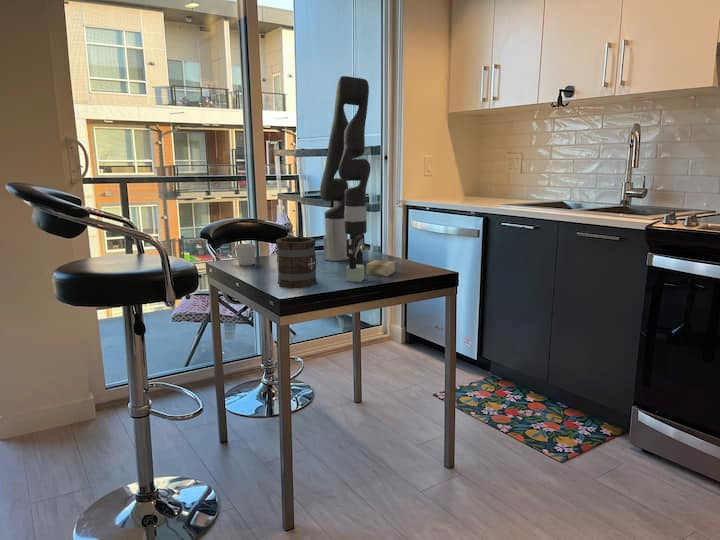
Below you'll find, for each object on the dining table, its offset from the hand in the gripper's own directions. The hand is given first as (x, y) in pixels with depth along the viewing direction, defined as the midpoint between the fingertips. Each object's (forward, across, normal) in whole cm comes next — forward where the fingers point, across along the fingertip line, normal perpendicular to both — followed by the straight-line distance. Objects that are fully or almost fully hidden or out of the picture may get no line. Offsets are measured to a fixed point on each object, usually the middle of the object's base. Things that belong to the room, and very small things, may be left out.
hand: (356, 266), depth 179 cm
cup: (+4, -16, -51) cm, 54 cm away
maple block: (+5, -13, +6) cm, 15 cm away
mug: (+5, +7, -18) cm, 20 cm away
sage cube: (+5, 0, 0) cm, 5 cm away
